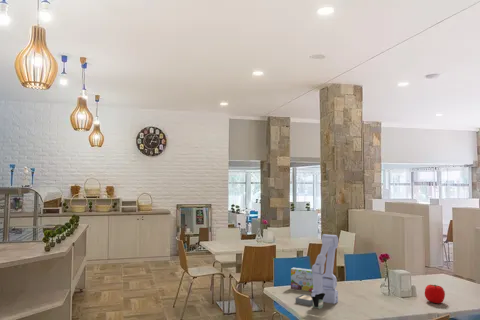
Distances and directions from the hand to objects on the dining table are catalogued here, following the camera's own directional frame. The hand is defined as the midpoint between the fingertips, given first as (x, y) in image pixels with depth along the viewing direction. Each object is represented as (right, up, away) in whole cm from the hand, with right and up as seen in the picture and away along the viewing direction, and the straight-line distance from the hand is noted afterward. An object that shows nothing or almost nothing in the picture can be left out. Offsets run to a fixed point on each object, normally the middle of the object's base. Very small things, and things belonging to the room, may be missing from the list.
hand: (318, 305), depth 252 cm
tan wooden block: (-5, -1, +10) cm, 11 cm away
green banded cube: (0, -1, 0) cm, 1 cm away
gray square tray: (-5, -2, +10) cm, 11 cm away
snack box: (-1, -5, +45) cm, 45 cm away
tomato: (+81, -3, +15) cm, 82 cm away
